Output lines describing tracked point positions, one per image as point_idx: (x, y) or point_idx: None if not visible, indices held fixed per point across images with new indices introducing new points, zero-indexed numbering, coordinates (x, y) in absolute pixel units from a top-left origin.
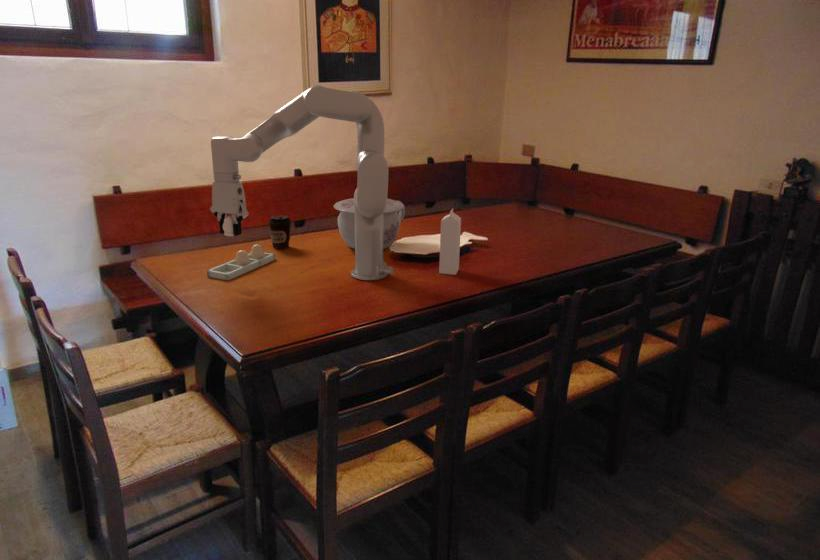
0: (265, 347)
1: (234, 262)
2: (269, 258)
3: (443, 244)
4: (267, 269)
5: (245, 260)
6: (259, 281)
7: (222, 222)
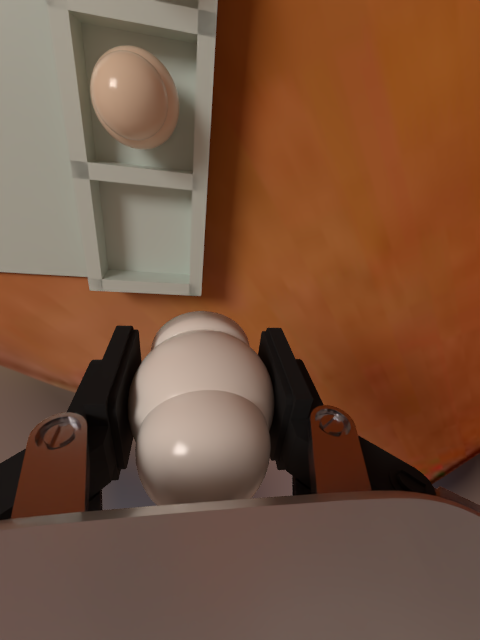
0: (433, 474)
1: (82, 100)
2: None
3: None
4: (254, 35)
5: (174, 125)
6: (297, 220)
7: (125, 453)
